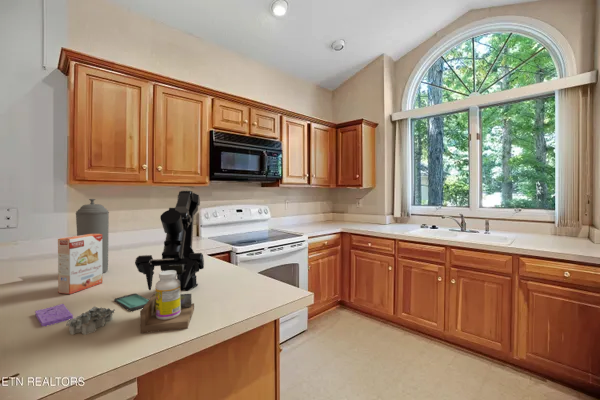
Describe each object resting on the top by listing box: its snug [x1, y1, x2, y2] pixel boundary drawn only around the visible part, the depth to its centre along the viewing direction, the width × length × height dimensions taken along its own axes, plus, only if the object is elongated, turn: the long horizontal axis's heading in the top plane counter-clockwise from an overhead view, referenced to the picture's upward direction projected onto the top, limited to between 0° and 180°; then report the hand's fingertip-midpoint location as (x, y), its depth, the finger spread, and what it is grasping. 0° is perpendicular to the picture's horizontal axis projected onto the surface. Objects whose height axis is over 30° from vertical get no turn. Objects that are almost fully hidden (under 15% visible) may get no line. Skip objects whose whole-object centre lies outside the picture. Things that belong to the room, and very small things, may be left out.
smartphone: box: [113, 293, 150, 312], centre depth 97 cm, size 7×1×15 cm
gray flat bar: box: [180, 293, 193, 308], centre depth 88 cm, size 1×10×4 cm, turn 103°
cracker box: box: [57, 234, 103, 295], centre depth 111 cm, size 14×6×21 cm, turn 168°
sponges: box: [34, 303, 74, 327], centre depth 86 cm, size 7×13×2 cm, turn 50°
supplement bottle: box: [154, 270, 181, 320], centre depth 82 cm, size 7×7×13 cm
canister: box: [75, 198, 110, 274], centre depth 132 cm, size 13×13×35 cm
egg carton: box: [65, 306, 116, 335], centre depth 81 cm, size 11×8×4 cm
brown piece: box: [139, 293, 195, 334], centre depth 84 cm, size 13×12×6 cm
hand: (167, 288), depth 81 cm, fingers open, 9 cm apart
